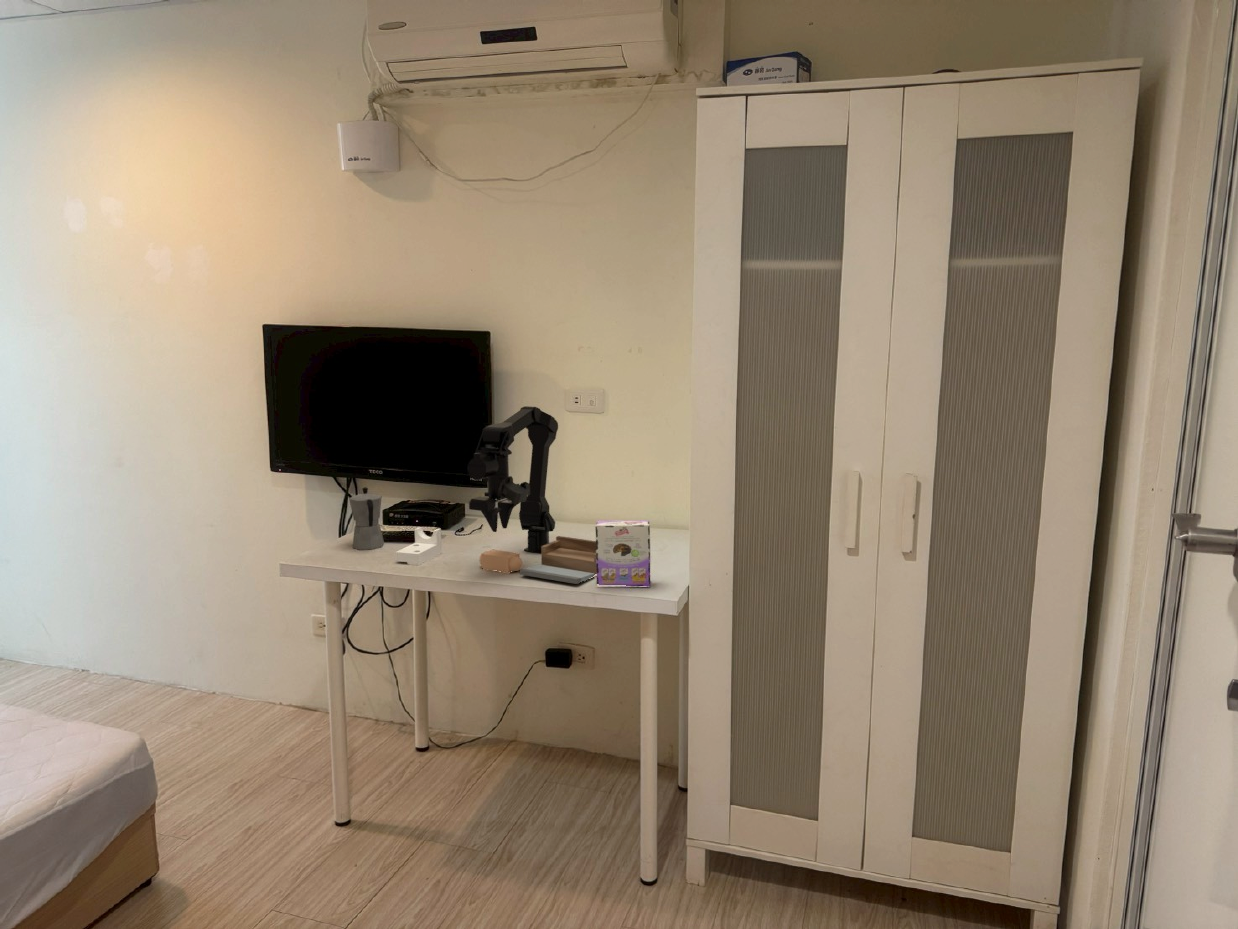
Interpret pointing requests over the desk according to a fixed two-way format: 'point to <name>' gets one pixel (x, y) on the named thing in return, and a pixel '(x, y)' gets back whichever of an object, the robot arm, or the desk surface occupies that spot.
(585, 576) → the panel
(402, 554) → the bracket
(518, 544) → the desk surface
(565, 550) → the tray
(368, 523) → the coffeepot
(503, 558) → the dome topped block
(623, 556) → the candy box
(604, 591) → the desk surface
